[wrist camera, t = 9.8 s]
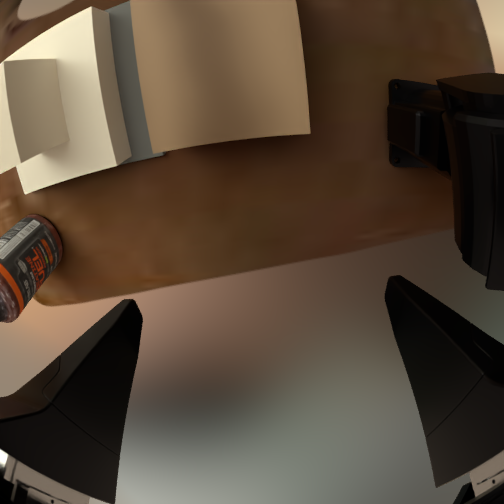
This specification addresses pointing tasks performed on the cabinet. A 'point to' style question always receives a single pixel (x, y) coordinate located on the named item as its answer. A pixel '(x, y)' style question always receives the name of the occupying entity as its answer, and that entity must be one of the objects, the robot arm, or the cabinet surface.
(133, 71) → the mat
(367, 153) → the cabinet surface
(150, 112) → the storage box
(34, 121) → the lid
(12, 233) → the supplement bottle
